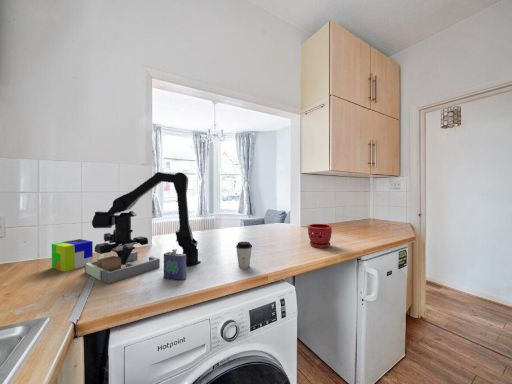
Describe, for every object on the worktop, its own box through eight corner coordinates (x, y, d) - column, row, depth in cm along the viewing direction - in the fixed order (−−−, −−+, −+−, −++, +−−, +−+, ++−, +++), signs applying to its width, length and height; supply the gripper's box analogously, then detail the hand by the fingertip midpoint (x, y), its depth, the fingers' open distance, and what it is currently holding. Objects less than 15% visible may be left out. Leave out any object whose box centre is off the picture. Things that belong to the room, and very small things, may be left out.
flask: (187, 278, 81) (187, 249, 81) (182, 281, 78) (182, 251, 78) (166, 275, 84) (166, 247, 83) (161, 278, 81) (160, 249, 81)
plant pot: (307, 242, 134) (307, 223, 134) (329, 243, 132) (330, 223, 132) (308, 248, 122) (308, 226, 121) (333, 249, 119) (333, 227, 119)
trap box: (160, 266, 93) (160, 258, 92) (107, 283, 76) (107, 273, 76) (136, 258, 103) (136, 251, 103) (84, 272, 87) (84, 263, 87)
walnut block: (120, 270, 88) (120, 258, 88) (103, 275, 83) (103, 262, 83) (114, 267, 92) (113, 255, 92) (97, 272, 87) (97, 259, 87)
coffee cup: (255, 265, 95) (255, 242, 94) (247, 270, 88) (247, 245, 88) (241, 262, 98) (241, 240, 98) (232, 267, 92) (232, 243, 92)
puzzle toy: (92, 264, 96) (92, 241, 96) (65, 271, 87) (64, 246, 87) (79, 260, 100) (79, 239, 100) (51, 268, 91) (51, 244, 91)
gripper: (135, 222, 104) (135, 255, 104) (88, 228, 88) (88, 267, 89) (148, 225, 98) (149, 260, 98) (100, 232, 82) (101, 273, 82)
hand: (123, 264), depth 92 cm, fingers closed
